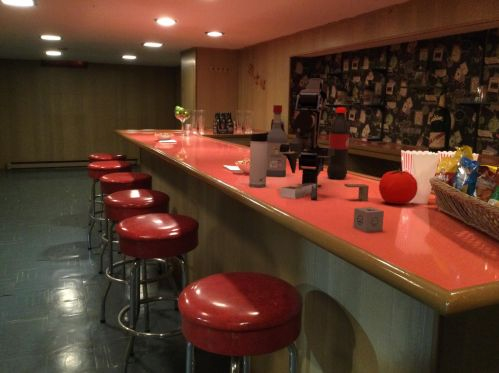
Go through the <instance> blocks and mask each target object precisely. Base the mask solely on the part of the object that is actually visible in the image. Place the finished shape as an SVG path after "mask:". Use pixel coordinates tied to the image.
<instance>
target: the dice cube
mask: <svg viewBox="0 0 499 373" xmlns="http://www.w3.org/2000/svg"><path fill="white" fill-rule="evenodd" d="M384 218H385V211H384V210H381V209H378V208H376V207H372V206H367V207H366V206H365V207H355V208H354V210H353V225H352V227H353V229H357V230H359V231H361V232H364V233H375V232H382V231H383V230H384V229H383V228H384V227H383V226H384Z"/></svg>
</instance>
